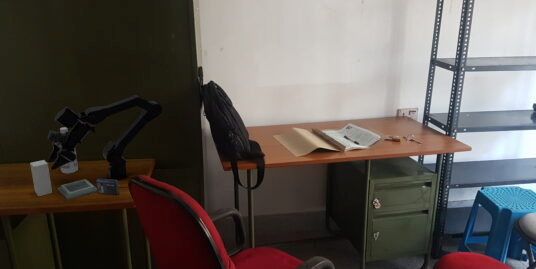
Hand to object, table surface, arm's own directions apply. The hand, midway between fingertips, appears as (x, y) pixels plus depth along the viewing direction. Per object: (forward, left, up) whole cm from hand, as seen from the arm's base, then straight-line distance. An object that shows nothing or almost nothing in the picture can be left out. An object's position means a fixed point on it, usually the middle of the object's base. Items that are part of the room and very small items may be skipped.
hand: (50, 165), depth 170 cm
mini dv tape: (-16, +17, -11) cm, 25 cm away
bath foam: (-11, -17, -11) cm, 23 cm away
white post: (+4, -1, -11) cm, 11 cm away
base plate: (-7, +6, -11) cm, 15 cm away
